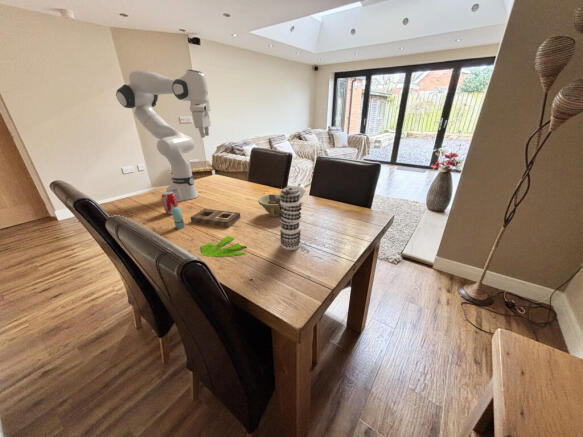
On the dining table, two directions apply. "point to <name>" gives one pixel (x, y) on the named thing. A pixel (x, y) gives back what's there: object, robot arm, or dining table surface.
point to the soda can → (169, 201)
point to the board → (215, 217)
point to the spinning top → (300, 189)
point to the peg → (178, 217)
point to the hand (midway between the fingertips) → (205, 136)
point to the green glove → (226, 252)
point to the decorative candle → (290, 218)
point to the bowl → (271, 204)
